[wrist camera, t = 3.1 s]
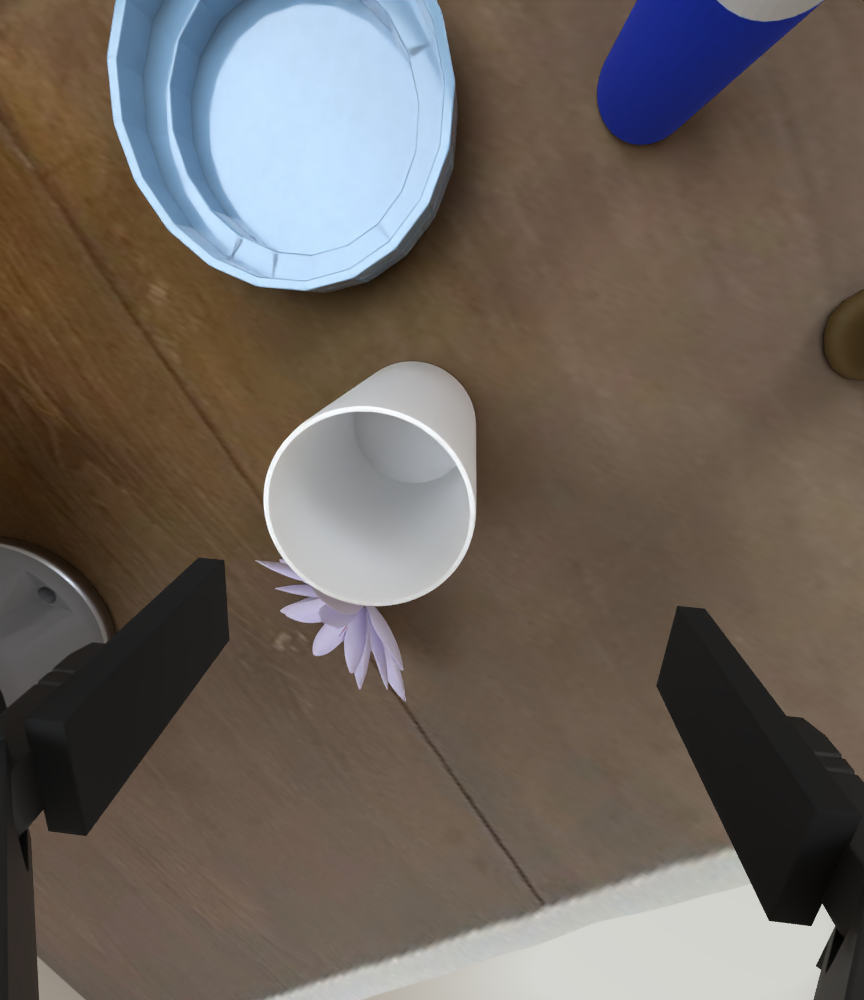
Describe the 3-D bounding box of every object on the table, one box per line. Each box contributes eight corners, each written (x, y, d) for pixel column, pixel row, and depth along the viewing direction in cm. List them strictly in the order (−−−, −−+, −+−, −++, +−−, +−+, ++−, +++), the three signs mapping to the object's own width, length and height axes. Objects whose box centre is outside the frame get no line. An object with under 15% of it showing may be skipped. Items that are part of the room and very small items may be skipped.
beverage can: (707, 118, 29) (927, -61, 15) (612, 166, 30) (734, 42, 16) (679, 9, 27) (893, -303, 13) (580, 64, 28) (683, -172, 14)
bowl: (176, 279, 34) (128, 275, 29) (150, -67, 28) (85, -141, 23) (443, 302, 33) (437, 302, 28) (472, -48, 27) (471, -122, 23)
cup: (328, 438, 36) (225, 531, 21) (396, 334, 34) (334, 357, 19) (427, 507, 38) (396, 642, 23) (501, 412, 35) (521, 493, 20)
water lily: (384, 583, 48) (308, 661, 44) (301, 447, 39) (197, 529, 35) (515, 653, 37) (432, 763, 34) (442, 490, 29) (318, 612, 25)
